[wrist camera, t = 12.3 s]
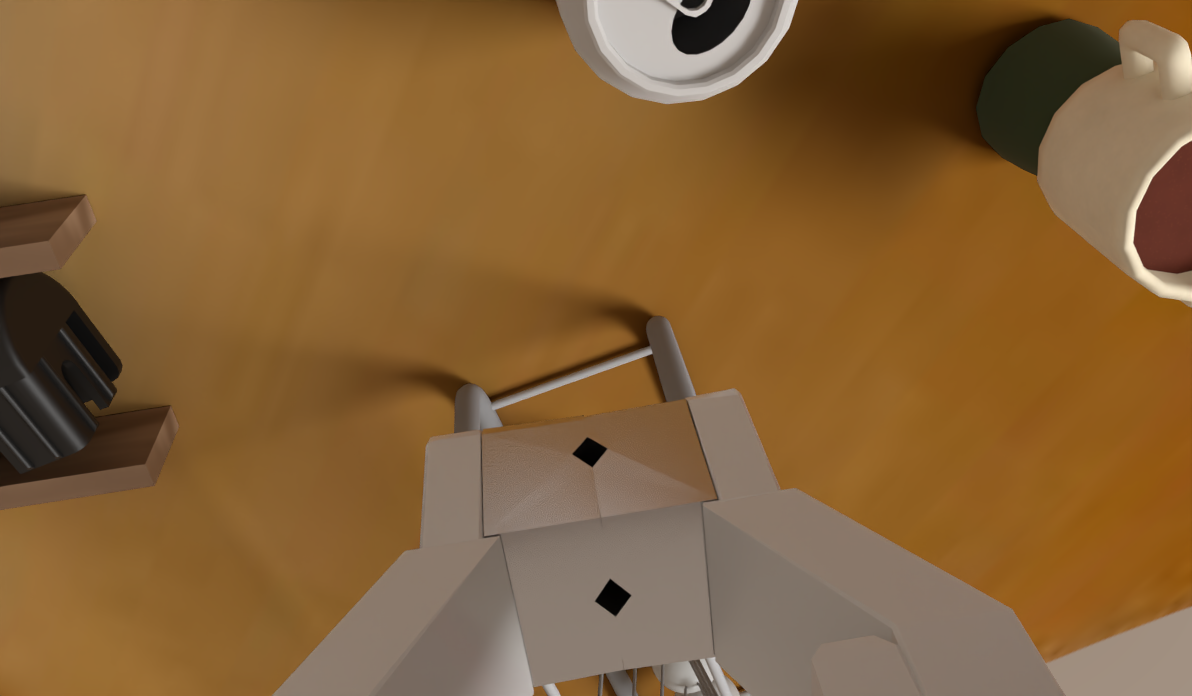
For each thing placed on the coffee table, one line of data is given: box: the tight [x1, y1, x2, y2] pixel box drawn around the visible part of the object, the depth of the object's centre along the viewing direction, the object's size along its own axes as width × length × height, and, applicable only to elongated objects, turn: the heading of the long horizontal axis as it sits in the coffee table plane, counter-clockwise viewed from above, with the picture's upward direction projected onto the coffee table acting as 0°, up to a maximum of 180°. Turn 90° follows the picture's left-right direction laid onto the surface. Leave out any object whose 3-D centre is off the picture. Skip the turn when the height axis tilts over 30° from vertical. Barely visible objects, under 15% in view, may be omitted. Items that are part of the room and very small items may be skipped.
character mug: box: [976, 19, 1192, 307], centre depth 40 cm, size 11×7×13 cm, turn 22°
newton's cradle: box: [454, 316, 751, 696], centre depth 49 cm, size 30×10×18 cm, turn 19°
